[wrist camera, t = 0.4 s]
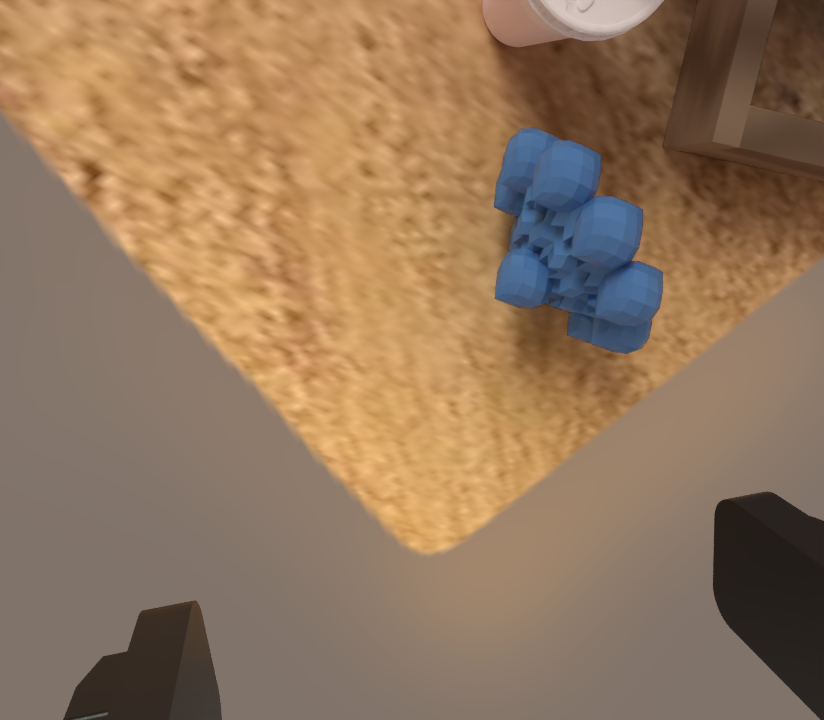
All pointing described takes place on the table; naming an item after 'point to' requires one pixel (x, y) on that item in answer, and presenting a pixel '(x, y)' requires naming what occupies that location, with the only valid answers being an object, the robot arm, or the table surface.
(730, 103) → the slot rack
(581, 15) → the smoothie
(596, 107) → the table surface
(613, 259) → the grapes
